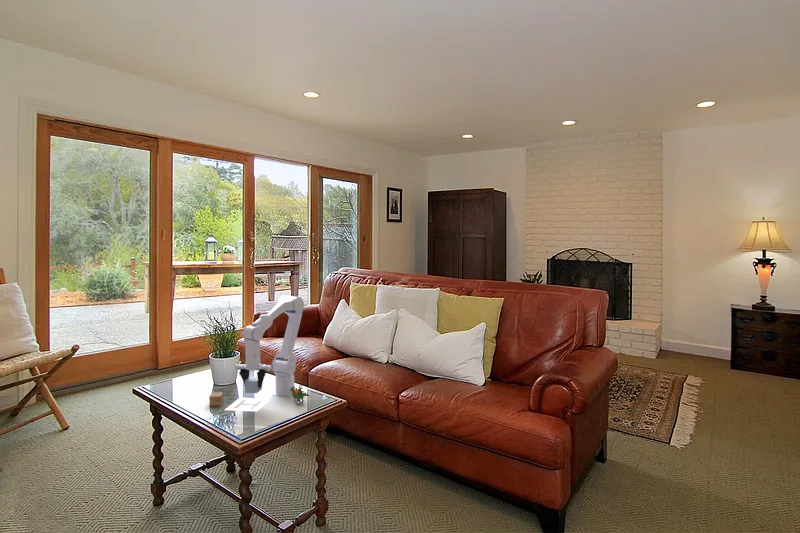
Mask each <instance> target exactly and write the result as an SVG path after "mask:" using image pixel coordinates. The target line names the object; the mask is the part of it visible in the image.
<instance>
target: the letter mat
mask: <svg viewBox="0 0 800 533" xmlns="http://www.w3.org/2000/svg"><path fill="white" fill-rule="evenodd" d="M270 400H271V398H257V397H254V398H253V397H239V398H237V400H235V401H234V402H232V403H231V404H230V405H228V406H227V407H226V408H224V411H234V412H235V411H236V412H237V411H238V412H254V413H255V412H259V410H261V409H262V408H263V407H265V405H266V404H268V402H270Z"/></svg>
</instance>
